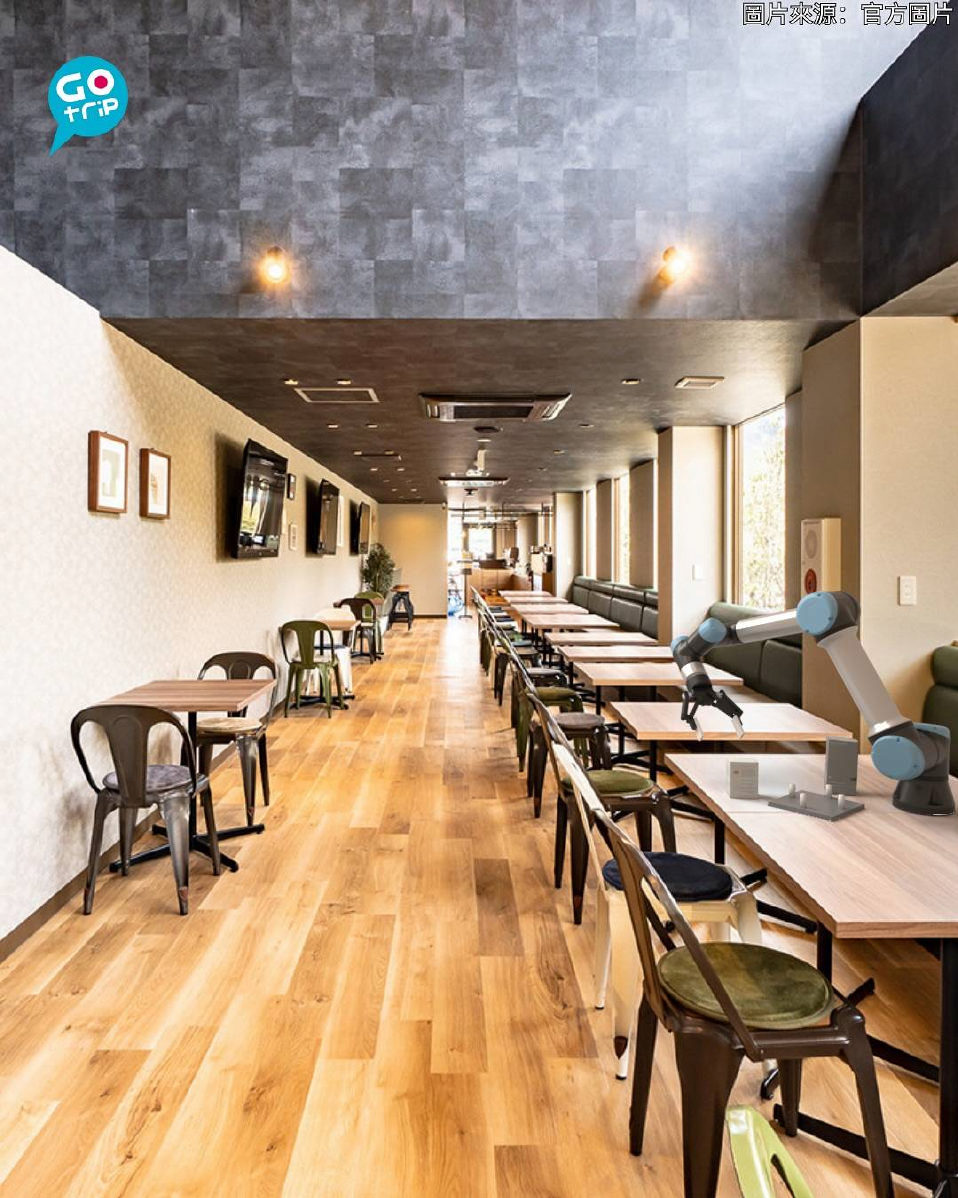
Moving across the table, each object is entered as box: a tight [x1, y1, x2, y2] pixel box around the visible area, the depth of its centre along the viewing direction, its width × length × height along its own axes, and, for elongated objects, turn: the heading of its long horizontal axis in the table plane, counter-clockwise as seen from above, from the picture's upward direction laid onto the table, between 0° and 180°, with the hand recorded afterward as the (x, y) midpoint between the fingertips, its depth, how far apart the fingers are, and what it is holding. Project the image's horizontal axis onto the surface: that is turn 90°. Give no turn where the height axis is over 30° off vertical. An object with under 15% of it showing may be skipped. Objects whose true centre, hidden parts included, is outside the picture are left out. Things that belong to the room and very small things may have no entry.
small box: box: [725, 756, 760, 800], centre depth 236 cm, size 8×6×10 cm
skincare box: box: [823, 735, 860, 797], centre depth 241 cm, size 8×7×16 cm
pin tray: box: [767, 783, 866, 822], centre depth 226 cm, size 18×18×5 cm
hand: (722, 737), depth 246 cm, fingers open, 13 cm apart
